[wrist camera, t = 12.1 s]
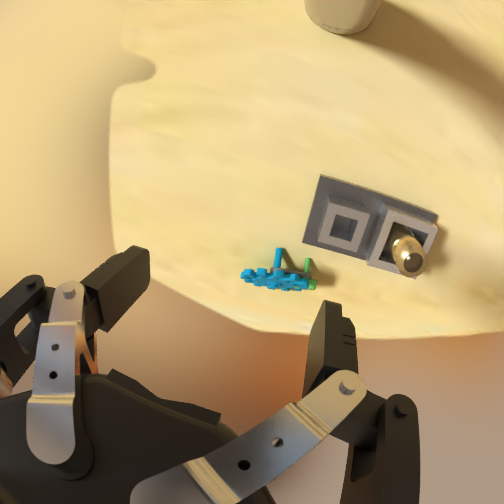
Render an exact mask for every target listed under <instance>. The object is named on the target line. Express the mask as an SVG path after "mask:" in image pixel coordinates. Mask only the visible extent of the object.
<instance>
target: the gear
mask: <svg viewBox="0 0 504 504" xmlns="http://www.w3.org/2000/svg"><path fill="white" fill-rule="evenodd" d="M282 253H283V249H282V248H276V254H275V260H274V267H272V268H271V272H270V273H267V269H263V268H257V273H256V272H254V270H252V269H245V271H244V272H242V273H241V277H240V278H241V279H245V282H247V283H254V285H255V286H267V288H269V289H275V288H281V290H284V291H289V289H290V288H293V290H295V291H302V289H308V287H309V289H311V290H315V289H316V281H317V280H313V279H311V275H312V274H310V273H309V267H310V258H306V259H305V268H304V272H300V271H294V270H288V269H282V268H280V267H281V260H282ZM284 274H285V275H284Z"/></svg>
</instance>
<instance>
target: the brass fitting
mask: <svg viewBox="0 0 504 504" xmlns="http://www.w3.org/2000/svg"><path fill="white" fill-rule="evenodd" d="M386 244H387V246H388V248H389V250H390V252H391V254H392V256H393V258H394V260H395V262H396V265H397V267H398V269H399V271H400V273H401V274H402V275H404V276H406V277H416V276H418V275H420V274H421V273H422V272H423V271H424V270H425V268H426V266H427V264H428V256H427V254H426V252H425V250H424V249H423V248H422V246H421V245H420V243H419V242H418V241H417V239H416V238H415V237H414V235H413V234H412V233H411V231H410V230H409V229H408V227H407V226H405V225H402V224H399V223H395V224H392V227H391V229H390V232H389V235H388V237H387V240H386Z"/></svg>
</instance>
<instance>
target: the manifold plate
mask: <svg viewBox="0 0 504 504" xmlns="http://www.w3.org/2000/svg"><path fill="white" fill-rule="evenodd" d="M435 217H436V214H435V213H434V212H432V211H429V210H427V209H424V208H422V207H419V206H416V205H414V204H411V203H408V202H406V201H403V200H400V199H398V198H395V197H392V196H389V195H386V194H383V193H380V192H377V191H374V190H371V189H368V188H365V187H362V186H359V185H356V184H353V183H349V182H346V181H343V180H339V179H336V178H332V177H329V176H325V175H322V174H320V177H319V181H318V185H317V188H316V192H315V196H314V200H313V204H312V207H311V211H310V215H309V218H308V222H307V225H306V229H305V233H304V236H303V240H302V243H306V244H309V245H313V246H317V247H320V248H324V249H327V250H331V251H334V252H338V253H342V254H345V255H349V256H352V257H356V258H359V259H363V260H366V262H367V265H369V266H373V267H376V268H380V269H383V270H387V271H390V272H394V273H397V274H400V275H402V274H401V273H400V271H399V269H398V267H397V265H396V262H395V260H394V258H393V256H392V254H391V252H390V250H389V248H388V246H387V244H386V240H387V237H388V235H389V232H390V229H391V227H392V224H395V223H399V224H402V225H405V226H407V227H408V229H409V230H410V231H411V233H412V234H413V235H414V237H415V238H416V239H417V241H418V242H419V243H420V245H421V246H422V248H423V249H424V250H425V252H426V254H428V252H429V250H430V248H431V245H432V243H433V241H434V238H435V236H436V234H437V231H438V229H439V228H438V227H437V226H436V225H435V224H434V223H433V222H434V220H435ZM410 278H414V279H416V278H417V276H416V277H410Z"/></svg>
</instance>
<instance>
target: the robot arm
mask: <svg viewBox="0 0 504 504" xmlns="http://www.w3.org/2000/svg"><path fill="white" fill-rule="evenodd" d="M381 2H382V0H305V7H306V11H307V14H308V15H309V17H310V18H311V20H312V21H313V22H314V23H315V24H317V25H318V26H320V27H321V28H323V29H325V30H327V31H329V32H333V33H336V34H348V35H349V34H355V33H358V32H361V31H363V30H364V29H366V28H367V27H368V26H369V24H370V23H371V21H372V19H373V17H374V15H375V14H376V12H377V10H378V8H379V6H380V4H381ZM149 282H150V256H149V251H148V250H147V249H144V248H141V247H138V246H135V245H133V246H131V247H130V248H128V249H127V250H126V251H125V252H123V253H122V252H121V253H119V254H116V255H114V256H112V257H110V258H109V259H108V260H107V261H105V263H103V264H101V265H100V266H99V268H97V269H95V270H94V271H93V272H92V273H91V274H89V275H88V276H87V277H86V278H84V279H83V280H82V281H81V282H76V281H69V282H65V283H63V284H61V285H59V286H58V287H57V288H52V287H46V286H45V283H44V280H43V278H42V277H41V276H40V275H30V276H27V277H25V278H23V279H22V280H21V281H20V282H19V283H17V284H16V285H15V286H14V287H13V288H12V289H10V290H9V291H8V292H7V293H6V294H5V295H4V296H2V297H1V298H0V504H276V503H275V501H274V499H273V497H272V496H271V494H270V492H269V490H268V488H267V486H266V485H267V484H269V483H271V482H272V481H273V480H274V479H276V478H277V477H279V476H280V475H281V474H283V473H284V472H285V471H287V470H288V469H289V468H291V467H292V466H293V465H294V464H295V463H297V462H298V461H299V460H300V459H302V458H303V457H304V456H305V455H306V454H307V453H309V452H310V451H311V450H312V449H313V448H315V447H316V446H317V445H318V444H319V443H320V442H321V441H322V440H323V439H325V438H326V437H327V436H328V435H329V434H330V435H332V436H334V437H336V438H338V439H341V440H343V441H345V442H348V443H349V449H348V457H347V464H346V471H345V477H344V483H343V489H342V494H341V499H340V504H419V493H420V440H419V424H418V412H417V408H416V405H415V404H414V402H413V401H412V400H411V399H410V398H409V397H407V396H405V395H401V394H395V395H392V396H390V397H389V398H388V399H387V400H386V399H384V398H382V397H380V396H377V395H375V394H373V393H371V392H370V391H368V390H367V387H366V384H365V382H364V380H363V379H362V377H360V376H359V375H358V359H357V347H356V339H355V338H356V334H355V327H354V325H353V323H352V322H351V320H350V318H346V317H342V305H341V304H339V303H335V302H331V301H327V300H324V301H323V303H322V305H321V308H320V310H319V312H318V315H317V317H316V319H315V322H314V324H313V327H312V329H311V333H310V337H309V345H308V354H307V363H306V372H305V379H304V387H303V394H302V400H300V401H299V402H297V403H294V402H292V403H290V404H288V405H286V406H285V407H284V408H282V409H281V410H279V411H278V412H276V413H275V414H273V415H272V416H271V417H269V418H268V419H266V420H265V421H263V422H262V423H260V424H258V425H257V426H255V427H254V428H252V429H250V430H249V431H247V432H246V433H244V434H242V435H241V436H238V435H237V434H236V433H235V432H234V431H233V430H232V429H231V428H229V427H228V426H227V425H225V424H223V423H222V422H220V418H221V413H218V412H214V411H211V410H208V409H205V408H203V407H200V406H197V405H194V404H190V403H184V402H177V401H170V400H165V399H161V398H158V397H157V396H155V395H154V394H153V393H151V392H150V391H149V390H148V389H146V388H145V387H144V386H142V385H141V384H140V383H139V382H137V381H136V380H134V379H132V378H130V377H128V376H126V375H124V374H122V373H120V372H118V371H116V370H114V369H112V370H111V371H110V372H109V374H108V375H105V374H99V373H98V366H97V338H96V333H95V332H96V331H97V330H98V329H101V330H103V331H105V332H107V333H108V331H110V329H111V328H112V327H113V326H114V325H115V324H116V322H117V321H118V320H119V319H120V318H121V317H122V316H123V314H124V313H125V312H126V311H127V310H128V309H129V308H130V307H131V306H132V305H133V303H134V302H135V301H136V300H137V299H138V298H139V297H140V296H141V295H142V294H143V292H144V291H145V290H146V289H147V287H148V285H149ZM27 313H28V315H29V318H30V320H31V322H30V323H29V324H28V325H27V326H26V327H25V328H24V329H23V330H22V331H21V332H20V334H19V335H18V336H17V337H15V335H14V328H15V326H16V324H17V323H18V322H19V321H20V320H21V319H22V318H23V317H24V316H25V315H26V314H27ZM34 360H35V365H34V375H33V388H32V390H30V391H26V392H23V393H19V394H15V395H12V390H13V387H14V386H15V385H16V383H17V382H18V381H19V379H20V378H21V376H22V375H23V374H24V373H25V371H26V370H27V369H28V368H29V366H30V365H31V364H32V363H33V361H34Z"/></svg>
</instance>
